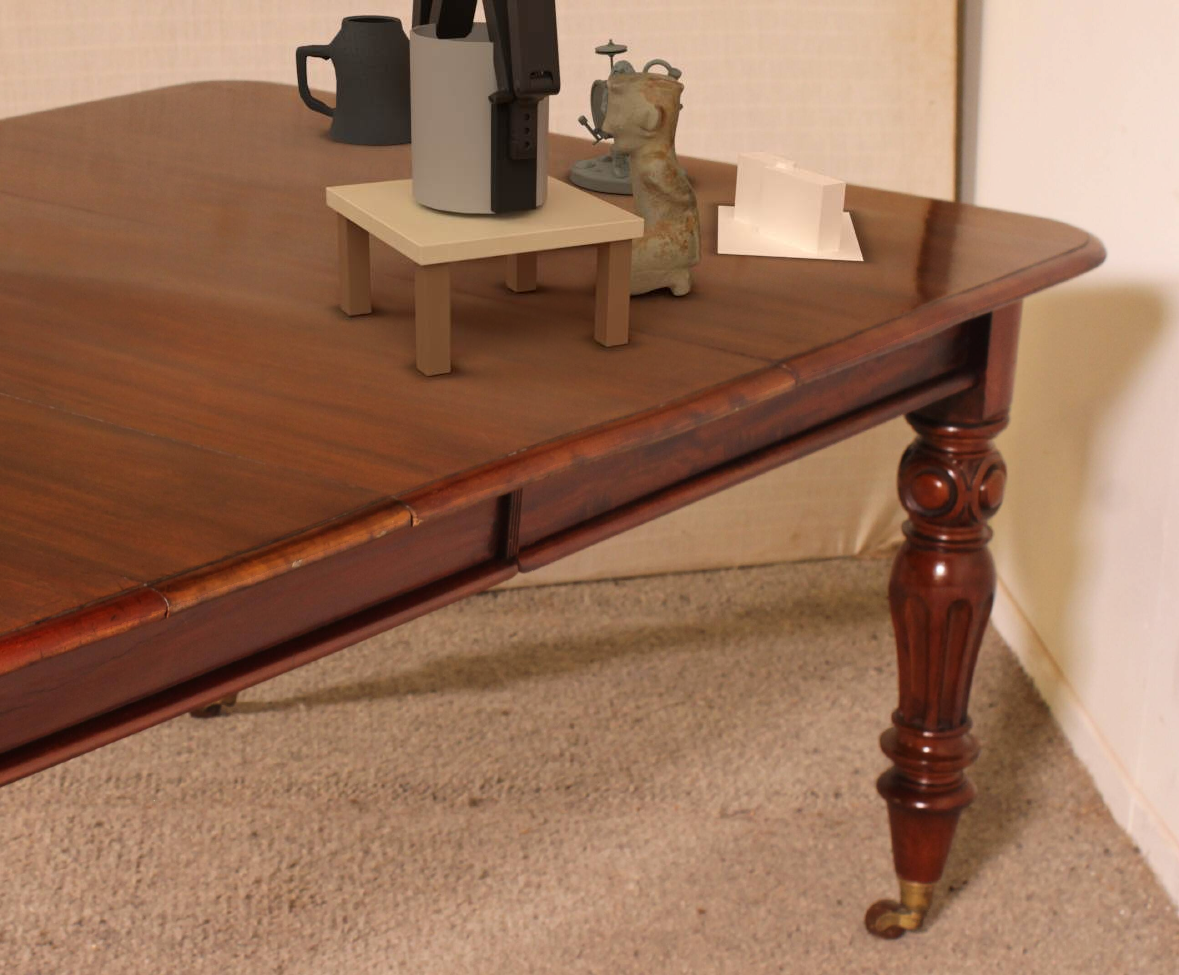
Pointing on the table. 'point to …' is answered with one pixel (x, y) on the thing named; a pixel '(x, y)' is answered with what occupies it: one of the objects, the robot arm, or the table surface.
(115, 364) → the table surface
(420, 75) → the cup
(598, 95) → the figurine
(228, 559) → the table surface
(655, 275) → the sculpture
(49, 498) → the table surface
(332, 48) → the mug
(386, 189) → the side table
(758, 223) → the napkin holder
